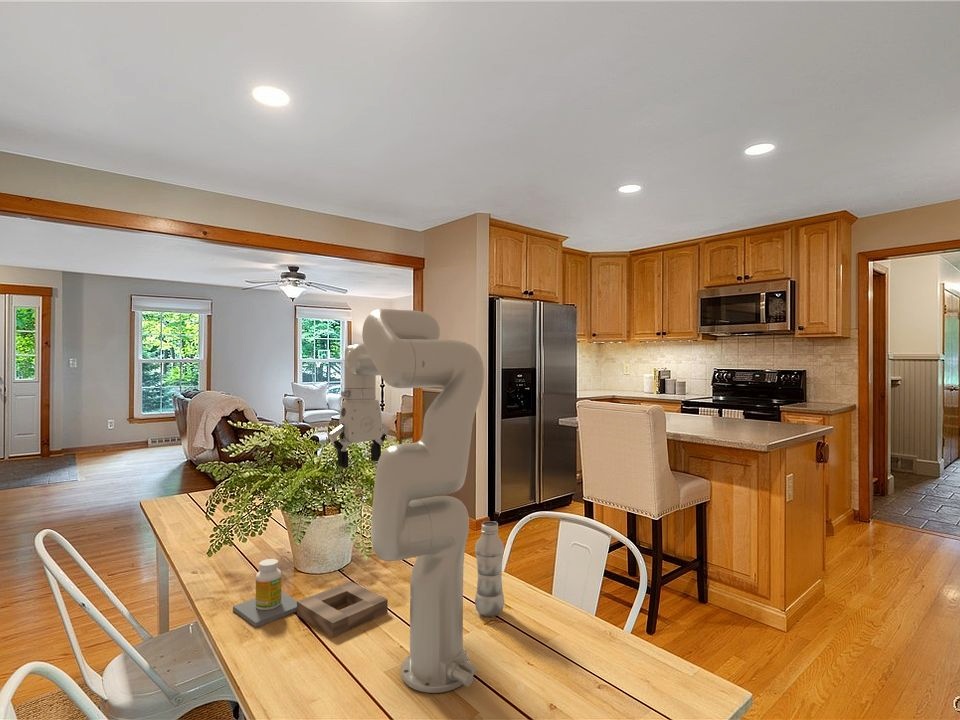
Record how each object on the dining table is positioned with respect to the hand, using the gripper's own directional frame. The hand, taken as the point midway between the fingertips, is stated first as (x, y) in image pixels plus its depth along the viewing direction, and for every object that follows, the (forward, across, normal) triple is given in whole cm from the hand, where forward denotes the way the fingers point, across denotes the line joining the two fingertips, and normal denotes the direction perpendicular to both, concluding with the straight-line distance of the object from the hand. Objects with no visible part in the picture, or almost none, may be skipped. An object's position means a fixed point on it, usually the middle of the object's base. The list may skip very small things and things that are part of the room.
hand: (359, 464), depth 131 cm
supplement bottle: (+30, -21, +5) cm, 37 cm away
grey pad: (+30, -21, +5) cm, 37 cm away
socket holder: (+30, -11, -9) cm, 33 cm away
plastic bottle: (+31, +11, -33) cm, 46 cm away
